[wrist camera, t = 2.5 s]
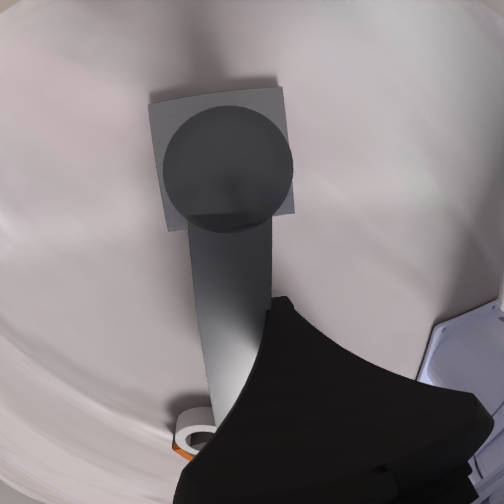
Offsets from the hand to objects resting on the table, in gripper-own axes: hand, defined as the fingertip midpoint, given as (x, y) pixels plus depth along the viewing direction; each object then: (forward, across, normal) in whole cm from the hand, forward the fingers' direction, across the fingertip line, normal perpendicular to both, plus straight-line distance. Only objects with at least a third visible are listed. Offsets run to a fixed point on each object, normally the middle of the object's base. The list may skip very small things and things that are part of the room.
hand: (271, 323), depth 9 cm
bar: (+1, +1, +2) cm, 2 cm away
